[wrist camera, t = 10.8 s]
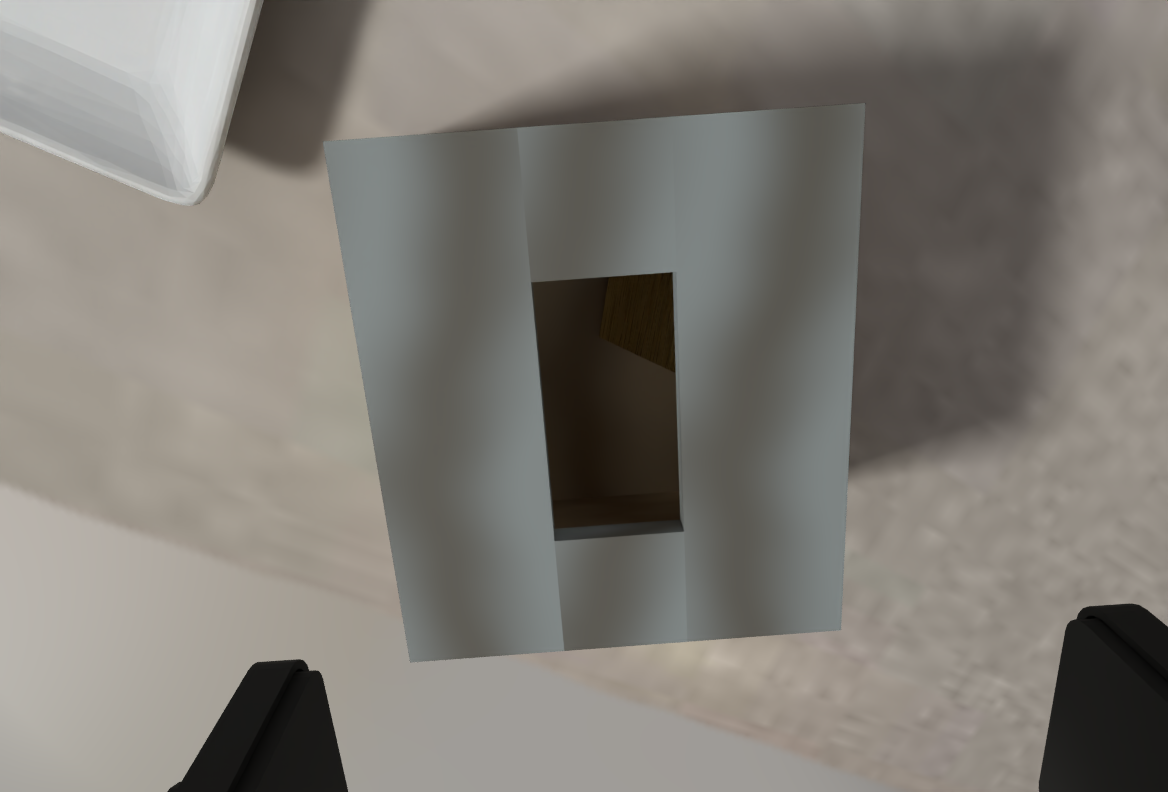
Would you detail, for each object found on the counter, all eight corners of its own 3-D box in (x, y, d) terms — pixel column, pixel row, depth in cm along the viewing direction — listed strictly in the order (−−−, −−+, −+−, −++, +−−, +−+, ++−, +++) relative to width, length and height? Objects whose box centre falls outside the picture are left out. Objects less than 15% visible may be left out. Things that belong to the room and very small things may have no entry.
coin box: (765, 118, 29) (865, 103, 19) (762, 495, 34) (840, 630, 24) (401, 143, 29) (322, 141, 19) (452, 518, 34) (409, 662, 24)
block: (664, 212, 29) (783, 241, 25) (641, 336, 31) (749, 384, 26) (620, 207, 28) (738, 236, 23) (599, 336, 29) (705, 387, 25)
